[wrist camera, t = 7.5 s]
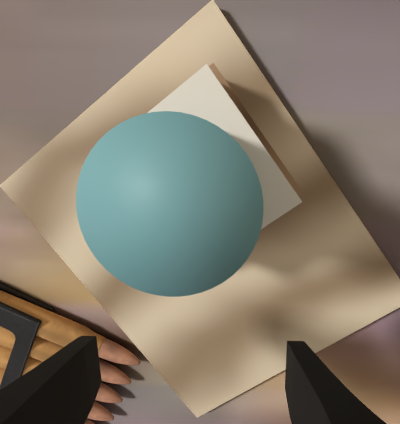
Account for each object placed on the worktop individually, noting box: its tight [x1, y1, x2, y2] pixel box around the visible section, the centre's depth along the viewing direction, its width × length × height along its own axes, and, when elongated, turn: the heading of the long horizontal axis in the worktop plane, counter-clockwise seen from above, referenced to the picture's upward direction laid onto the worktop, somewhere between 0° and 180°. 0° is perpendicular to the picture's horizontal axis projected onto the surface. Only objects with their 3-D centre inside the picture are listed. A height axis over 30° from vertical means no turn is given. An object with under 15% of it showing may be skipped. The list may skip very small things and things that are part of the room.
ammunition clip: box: [0, 283, 140, 424], centre depth 22 cm, size 11×2×12 cm
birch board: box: [0, 0, 400, 417], centre depth 19 cm, size 20×16×1 cm
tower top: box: [82, 64, 302, 229], centre depth 13 cm, size 6×6×3 cm
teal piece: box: [76, 111, 263, 297], centre depth 10 cm, size 4×4×4 cm
